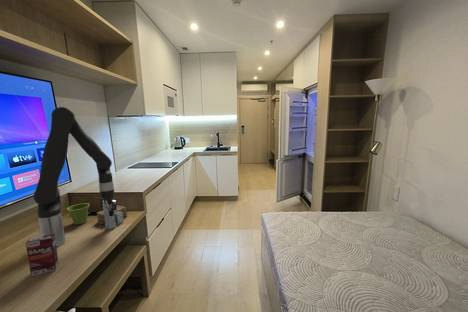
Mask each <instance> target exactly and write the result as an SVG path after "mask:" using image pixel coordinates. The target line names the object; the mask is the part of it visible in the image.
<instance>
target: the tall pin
mask: <svg viewBox="0 0 468 312" xmlns="http://www.w3.org/2000/svg"><path fill="white" fill-rule="evenodd" d="M111 208H112V206H111ZM102 209H103V210H104V218H105V224H104V226H105V230H108V231H112V230H114V229H115V228H117V224H116V223H115V213H114V216H110V210H109V208H108V206H107V207H104V208H102Z"/></svg>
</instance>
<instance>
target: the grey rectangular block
mask: <svg viewBox="0 0 468 312" xmlns="http://www.w3.org/2000/svg"><path fill="white" fill-rule="evenodd" d="M115 223H116V225H120V224H123V223H124V218H123V212H120V211H118V212H115Z"/></svg>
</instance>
